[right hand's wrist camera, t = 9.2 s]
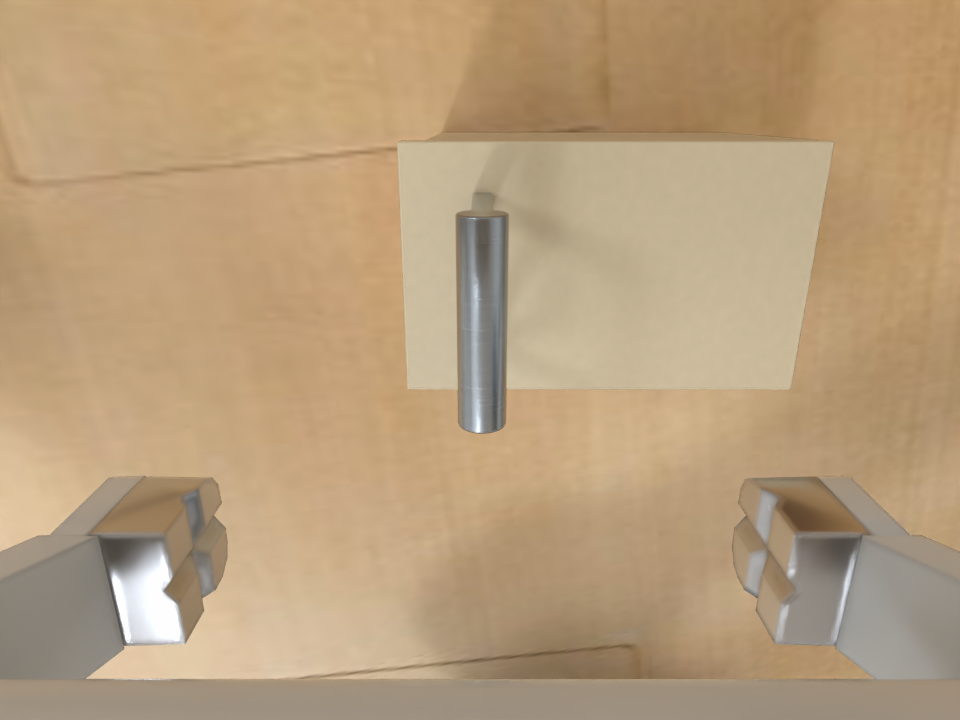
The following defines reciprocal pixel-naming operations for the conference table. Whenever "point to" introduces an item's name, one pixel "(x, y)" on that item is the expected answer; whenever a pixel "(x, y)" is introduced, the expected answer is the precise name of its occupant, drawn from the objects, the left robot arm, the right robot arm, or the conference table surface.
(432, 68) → the conference table surface
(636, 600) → the conference table surface
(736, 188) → the lid
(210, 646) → the conference table surface
